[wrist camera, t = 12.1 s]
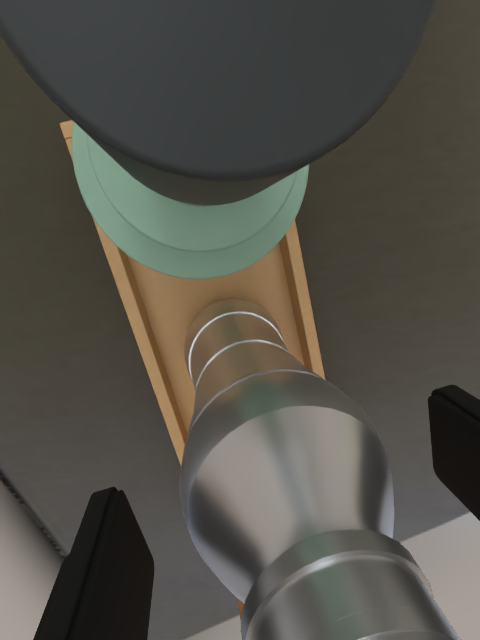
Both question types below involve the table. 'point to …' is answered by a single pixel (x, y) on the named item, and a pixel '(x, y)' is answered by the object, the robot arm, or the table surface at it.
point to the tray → (195, 295)
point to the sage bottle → (208, 110)
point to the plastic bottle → (293, 493)
